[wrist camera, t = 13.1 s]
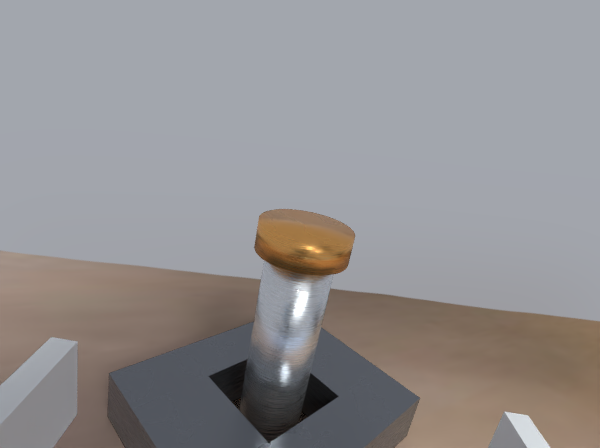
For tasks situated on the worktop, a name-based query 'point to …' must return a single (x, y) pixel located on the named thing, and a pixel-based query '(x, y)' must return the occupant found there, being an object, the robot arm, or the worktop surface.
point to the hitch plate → (228, 387)
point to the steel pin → (289, 312)
